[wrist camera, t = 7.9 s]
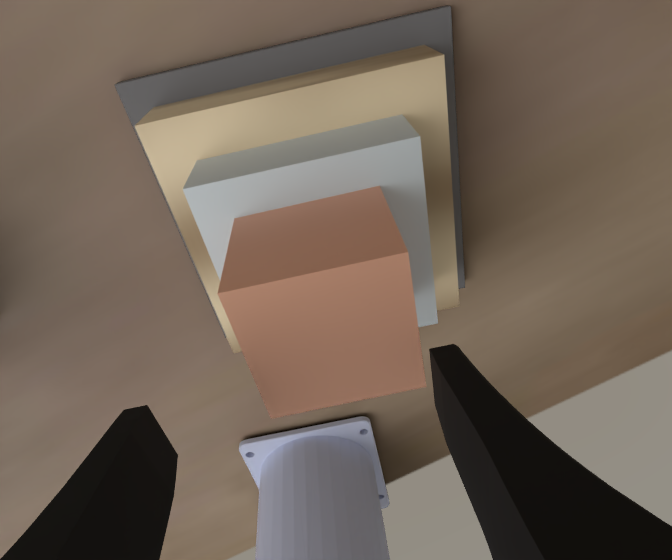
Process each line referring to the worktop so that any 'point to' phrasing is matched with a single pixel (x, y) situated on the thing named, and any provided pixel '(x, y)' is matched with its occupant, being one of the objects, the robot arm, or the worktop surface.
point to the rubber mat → (302, 58)
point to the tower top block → (321, 188)
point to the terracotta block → (323, 302)
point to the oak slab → (307, 119)
